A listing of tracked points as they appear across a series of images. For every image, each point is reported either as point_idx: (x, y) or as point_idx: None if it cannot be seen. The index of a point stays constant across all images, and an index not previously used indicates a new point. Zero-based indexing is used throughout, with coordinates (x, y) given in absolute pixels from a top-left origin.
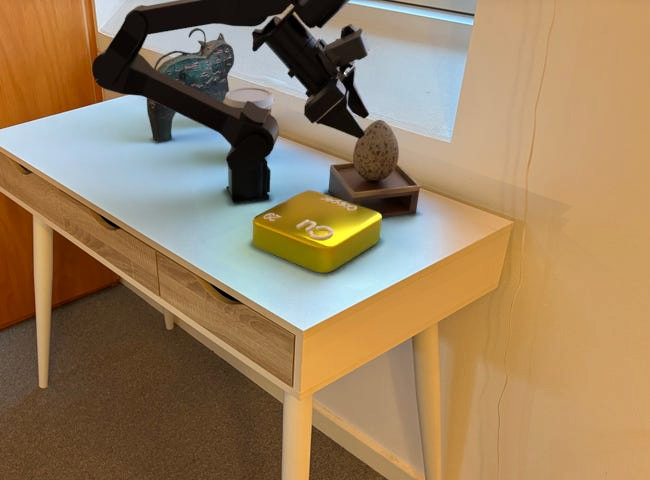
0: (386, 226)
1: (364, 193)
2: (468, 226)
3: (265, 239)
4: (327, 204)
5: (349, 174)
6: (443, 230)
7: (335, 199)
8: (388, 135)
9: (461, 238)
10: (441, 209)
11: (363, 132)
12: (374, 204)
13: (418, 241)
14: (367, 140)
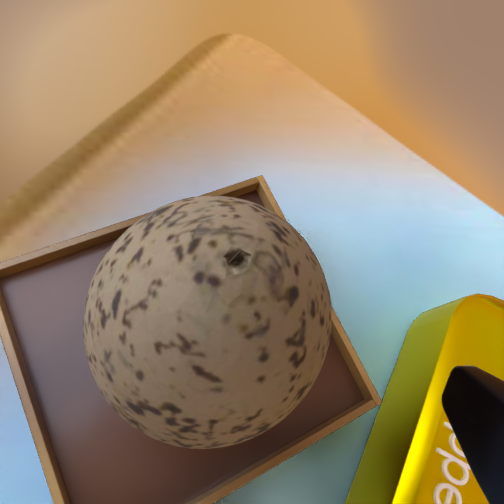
0: (340, 295)
1: (359, 361)
2: (288, 108)
3: None
4: (478, 496)
5: (143, 453)
6: (323, 160)
7: (428, 471)
8: (288, 225)
9: (351, 129)
10: (202, 154)
11: (491, 375)
12: None
13: (395, 218)
14: (317, 357)
